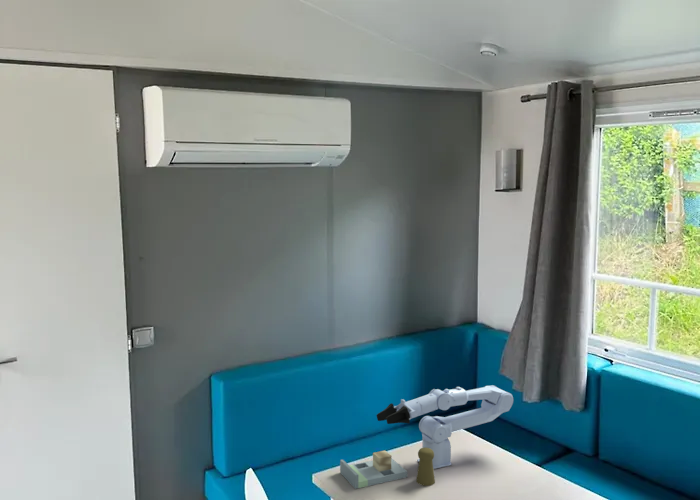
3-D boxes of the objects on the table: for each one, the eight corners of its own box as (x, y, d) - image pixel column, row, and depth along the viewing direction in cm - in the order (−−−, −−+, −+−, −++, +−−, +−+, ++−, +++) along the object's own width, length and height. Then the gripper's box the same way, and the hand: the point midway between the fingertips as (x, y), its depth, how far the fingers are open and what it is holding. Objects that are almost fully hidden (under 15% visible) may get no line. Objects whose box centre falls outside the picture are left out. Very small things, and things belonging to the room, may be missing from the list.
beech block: (384, 463, 210) (385, 450, 209) (391, 469, 206) (391, 455, 205) (372, 465, 208) (372, 452, 208) (379, 471, 204) (379, 458, 203)
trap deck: (389, 462, 215) (390, 449, 215) (407, 477, 204) (407, 464, 204) (340, 472, 207) (340, 460, 207) (355, 488, 196) (355, 475, 196)
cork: (434, 486, 198) (434, 454, 197) (415, 484, 199) (415, 452, 198) (435, 478, 204) (436, 446, 203) (417, 476, 205) (417, 444, 204)
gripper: (405, 393, 216) (370, 405, 211) (424, 397, 203) (388, 409, 198) (409, 413, 216) (375, 425, 211) (429, 418, 203) (393, 431, 197)
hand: (382, 419), depth 204 cm, fingers open, 7 cm apart
